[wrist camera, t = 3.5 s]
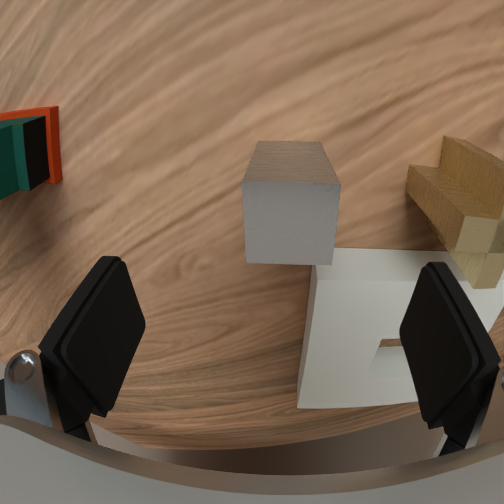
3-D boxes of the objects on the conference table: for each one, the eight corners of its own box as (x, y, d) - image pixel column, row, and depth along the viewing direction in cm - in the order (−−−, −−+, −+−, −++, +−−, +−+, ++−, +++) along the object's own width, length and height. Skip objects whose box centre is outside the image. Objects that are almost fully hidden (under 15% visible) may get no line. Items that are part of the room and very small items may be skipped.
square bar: (320, 142, 18) (341, 184, 12) (317, 197, 20) (331, 265, 14) (258, 140, 19) (242, 181, 12) (260, 196, 21) (246, 262, 14)
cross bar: (488, 145, 16) (555, 187, 9) (470, 226, 20) (519, 287, 13) (413, 130, 17) (476, 166, 10) (399, 221, 20) (440, 290, 14)
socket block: (496, 253, 21) (516, 279, 17) (434, 371, 30) (441, 397, 27) (313, 247, 22) (317, 279, 19) (297, 378, 32) (296, 408, 29)
